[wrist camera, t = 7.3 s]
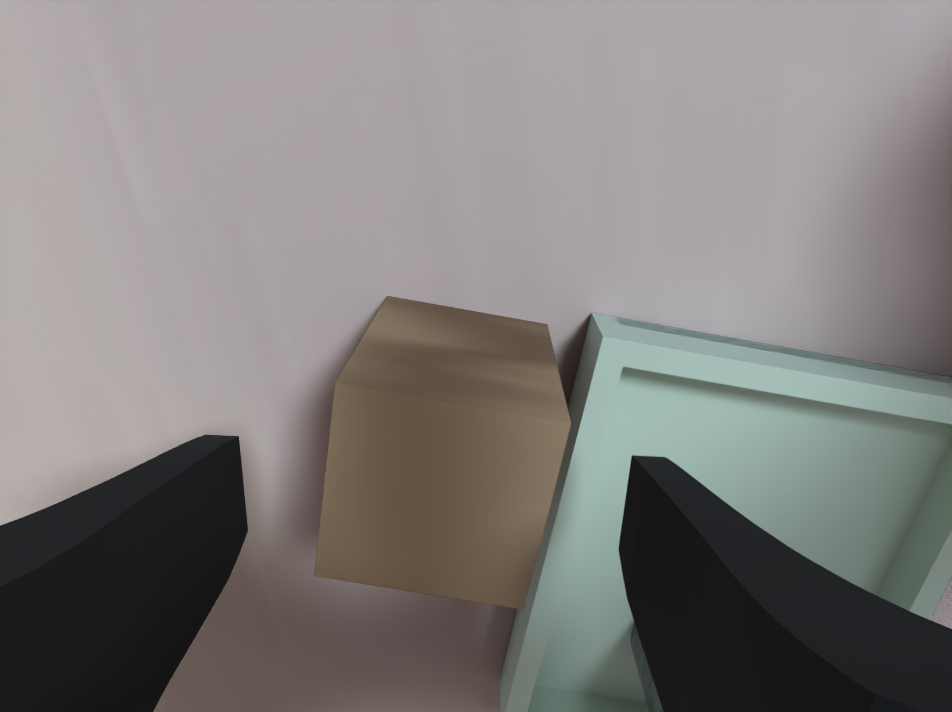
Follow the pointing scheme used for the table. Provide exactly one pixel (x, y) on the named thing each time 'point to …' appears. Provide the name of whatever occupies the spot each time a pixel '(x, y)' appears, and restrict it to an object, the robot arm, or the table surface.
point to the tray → (729, 487)
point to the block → (443, 454)
